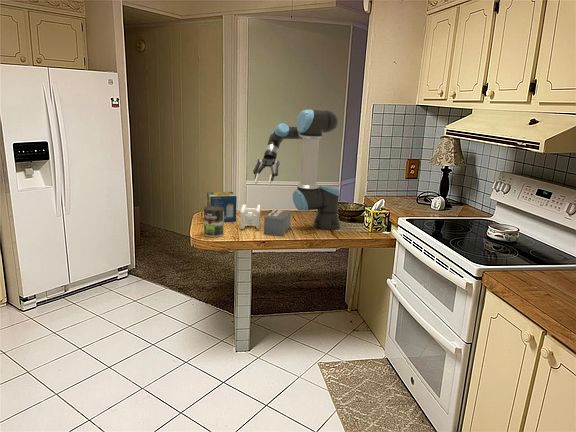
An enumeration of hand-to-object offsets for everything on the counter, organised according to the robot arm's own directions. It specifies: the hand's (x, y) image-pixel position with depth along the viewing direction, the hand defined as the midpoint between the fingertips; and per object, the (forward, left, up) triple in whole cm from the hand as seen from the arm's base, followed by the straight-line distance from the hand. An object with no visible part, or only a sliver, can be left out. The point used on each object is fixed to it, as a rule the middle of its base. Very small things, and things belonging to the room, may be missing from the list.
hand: (262, 184), depth 259 cm
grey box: (-16, +22, -21) cm, 34 cm away
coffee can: (+13, +41, -21) cm, 47 cm away
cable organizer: (0, +21, -21) cm, 29 cm away
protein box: (+20, +14, -21) cm, 32 cm away
